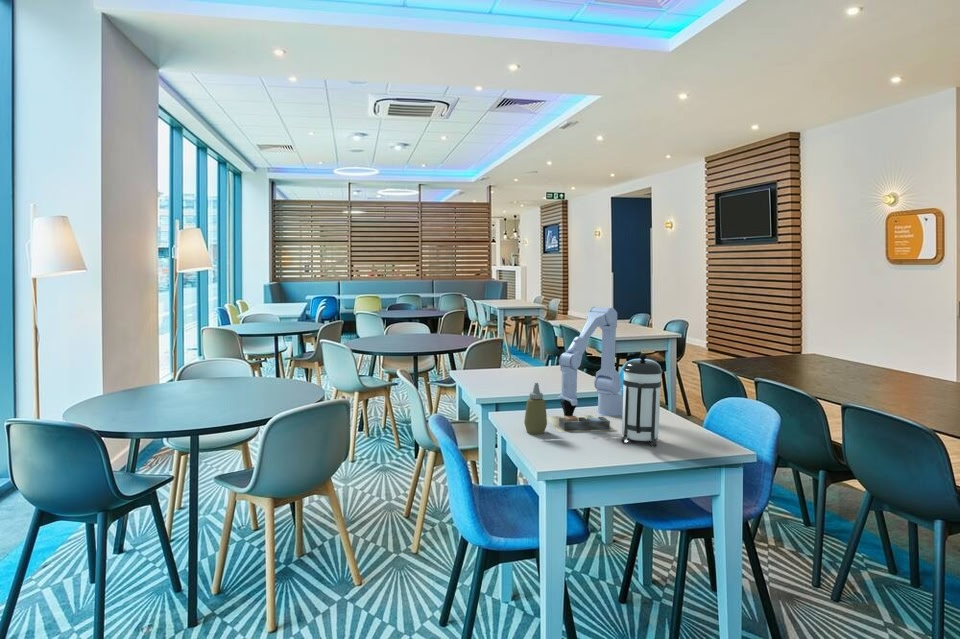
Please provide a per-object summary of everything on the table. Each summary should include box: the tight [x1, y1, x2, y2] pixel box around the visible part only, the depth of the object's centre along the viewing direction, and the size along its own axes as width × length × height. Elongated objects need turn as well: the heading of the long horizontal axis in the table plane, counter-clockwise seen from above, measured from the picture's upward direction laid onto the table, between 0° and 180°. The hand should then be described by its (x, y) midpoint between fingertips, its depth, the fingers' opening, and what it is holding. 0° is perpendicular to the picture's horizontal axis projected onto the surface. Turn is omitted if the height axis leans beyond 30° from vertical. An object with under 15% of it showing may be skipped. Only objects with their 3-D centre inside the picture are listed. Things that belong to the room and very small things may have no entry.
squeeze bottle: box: [524, 382, 548, 435], centre depth 198 cm, size 8×8×18 cm
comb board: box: [546, 414, 618, 433], centre depth 211 cm, size 22×22×4 cm
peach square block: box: [563, 415, 578, 421], centre depth 208 cm, size 4×4×3 cm
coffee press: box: [620, 353, 663, 447], centre depth 189 cm, size 17×16×30 cm
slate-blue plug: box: [587, 418, 600, 421], centre depth 206 cm, size 4×4×3 cm
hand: (568, 420), depth 212 cm, fingers closed
